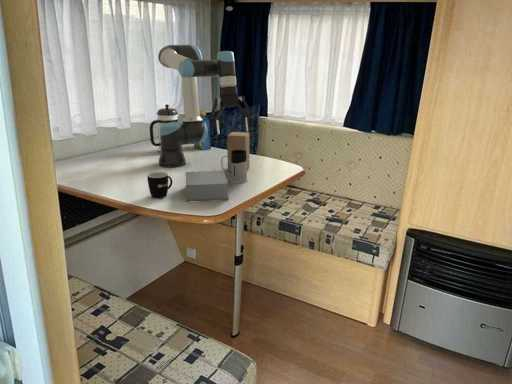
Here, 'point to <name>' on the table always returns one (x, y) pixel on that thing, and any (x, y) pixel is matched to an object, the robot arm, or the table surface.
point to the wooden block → (238, 145)
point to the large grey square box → (206, 186)
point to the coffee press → (163, 121)
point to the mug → (158, 184)
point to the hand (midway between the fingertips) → (233, 132)
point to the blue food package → (207, 142)
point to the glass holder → (238, 166)
